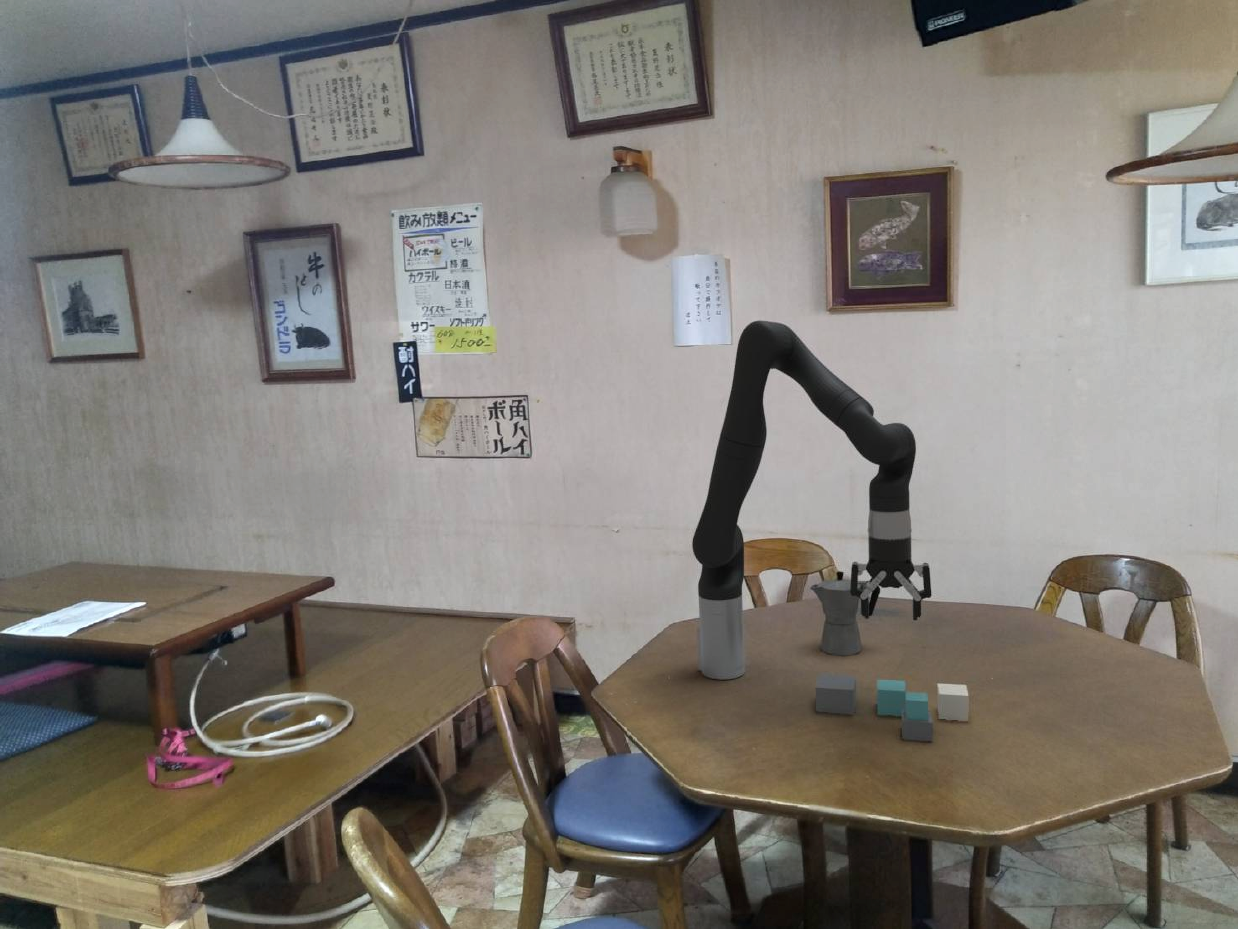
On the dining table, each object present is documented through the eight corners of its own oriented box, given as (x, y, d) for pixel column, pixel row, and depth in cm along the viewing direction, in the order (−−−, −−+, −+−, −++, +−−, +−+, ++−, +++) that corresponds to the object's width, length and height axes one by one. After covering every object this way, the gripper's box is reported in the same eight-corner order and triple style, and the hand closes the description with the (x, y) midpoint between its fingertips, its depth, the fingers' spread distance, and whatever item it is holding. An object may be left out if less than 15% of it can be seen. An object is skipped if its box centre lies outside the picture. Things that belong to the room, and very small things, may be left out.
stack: (902, 739, 154) (902, 701, 153) (901, 727, 159) (901, 690, 158) (932, 741, 153) (932, 703, 152) (931, 729, 158) (931, 691, 157)
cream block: (939, 720, 161) (939, 694, 161) (937, 708, 166) (937, 683, 165) (968, 722, 160) (968, 695, 159) (966, 710, 165) (966, 685, 164)
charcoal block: (816, 712, 167) (815, 687, 167) (819, 697, 174) (818, 673, 173) (854, 715, 165) (853, 690, 165) (856, 700, 172) (855, 676, 171)
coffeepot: (815, 657, 195) (813, 578, 192) (808, 642, 204) (806, 567, 202) (886, 655, 194) (885, 575, 191) (875, 640, 203) (874, 564, 201)
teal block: (877, 715, 165) (877, 689, 164) (877, 704, 169) (877, 679, 169) (905, 717, 163) (905, 691, 163) (905, 706, 168) (904, 681, 167)
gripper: (929, 528, 163) (930, 613, 165) (850, 528, 167) (851, 610, 169) (931, 538, 156) (932, 626, 158) (848, 537, 160) (850, 623, 162)
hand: (890, 618), depth 164 cm, fingers open, 8 cm apart
